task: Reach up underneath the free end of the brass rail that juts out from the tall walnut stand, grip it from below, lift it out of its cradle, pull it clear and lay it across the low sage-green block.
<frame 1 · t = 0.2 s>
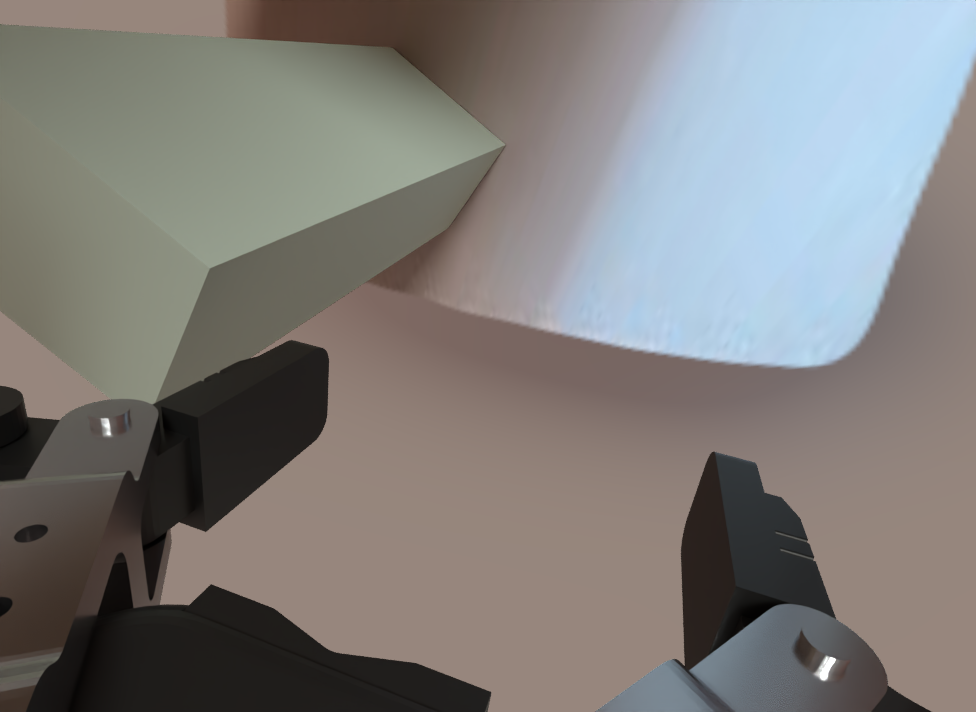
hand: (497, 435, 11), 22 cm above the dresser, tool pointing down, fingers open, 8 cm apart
block: (421, 142, 32), on the dresser
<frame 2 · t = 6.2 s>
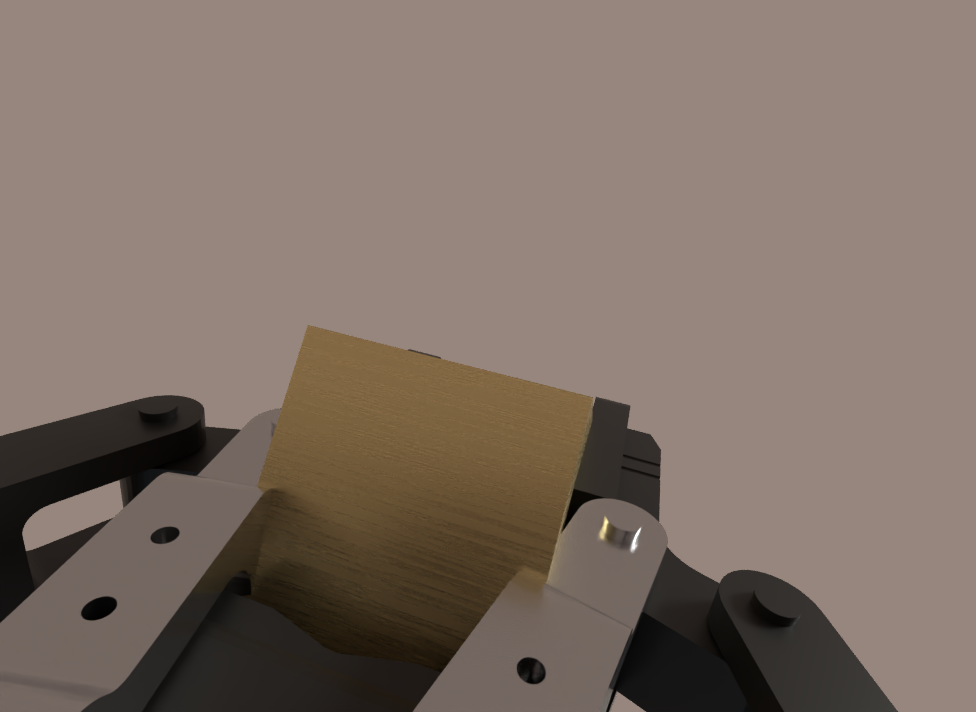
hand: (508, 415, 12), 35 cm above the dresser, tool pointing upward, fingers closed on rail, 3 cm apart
rail: (485, 549, 13), point 32 cm above the dresser, touching gripper, stand
when the fingers open (27 cm above the dresser, at t = 13.0 s): rail drops 2 cm, resting on block.
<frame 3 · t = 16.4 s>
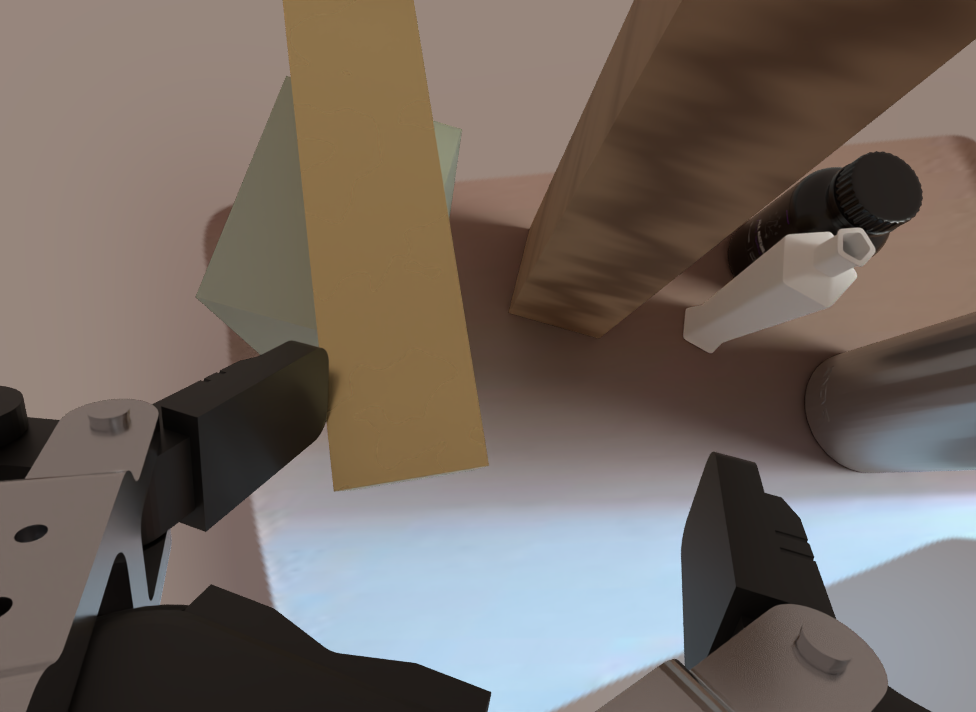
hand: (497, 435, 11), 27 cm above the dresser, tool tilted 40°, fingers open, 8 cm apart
supplement bottle: (763, 263, 45), on the dresser
stand: (563, 282, 42), on the dresser
perfume bottle: (704, 330, 43), on the dresser
block: (377, 360, 39), on the dresser
rail: (379, 234, 18), point 22 cm above the dresser, touching block
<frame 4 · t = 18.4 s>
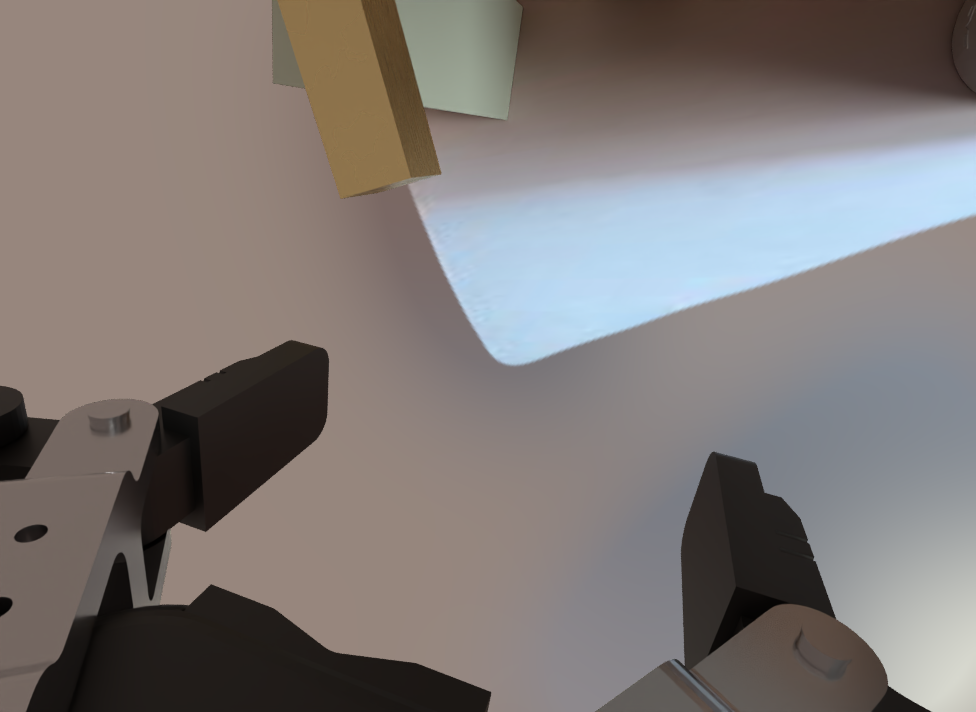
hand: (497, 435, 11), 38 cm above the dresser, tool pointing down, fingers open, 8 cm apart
block: (478, 61, 45), on the dresser
rail: (359, 9, 25), point 22 cm above the dresser, touching block
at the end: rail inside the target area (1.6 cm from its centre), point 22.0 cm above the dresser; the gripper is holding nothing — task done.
